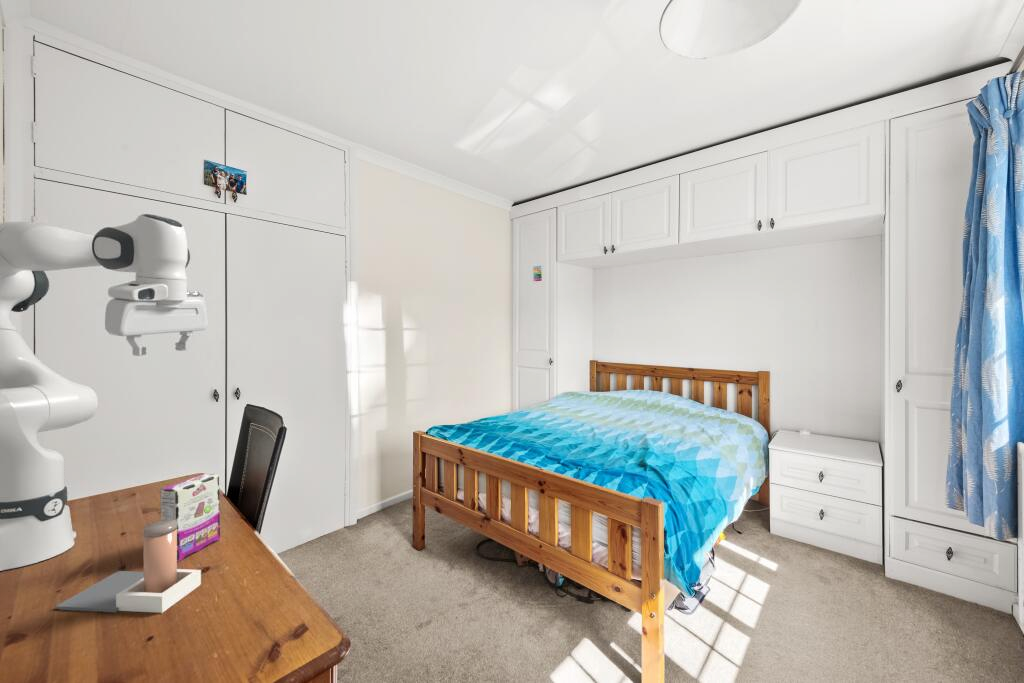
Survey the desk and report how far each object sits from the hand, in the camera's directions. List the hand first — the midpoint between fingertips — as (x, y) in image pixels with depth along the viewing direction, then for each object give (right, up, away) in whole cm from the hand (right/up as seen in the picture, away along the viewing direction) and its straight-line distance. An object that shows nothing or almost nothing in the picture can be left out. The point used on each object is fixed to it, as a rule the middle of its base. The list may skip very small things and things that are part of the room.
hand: (161, 352), depth 96 cm
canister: (+10, -47, -13) cm, 50 cm away
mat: (0, -47, -11) cm, 49 cm away
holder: (+10, -47, -13) cm, 50 cm away
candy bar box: (+2, -47, +6) cm, 48 cm away
